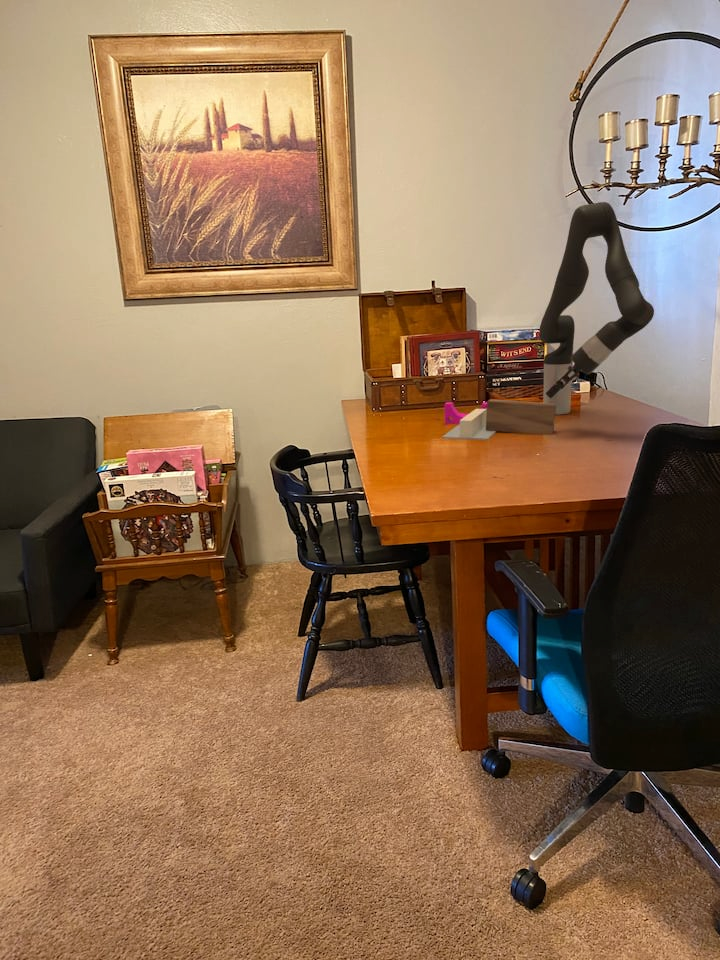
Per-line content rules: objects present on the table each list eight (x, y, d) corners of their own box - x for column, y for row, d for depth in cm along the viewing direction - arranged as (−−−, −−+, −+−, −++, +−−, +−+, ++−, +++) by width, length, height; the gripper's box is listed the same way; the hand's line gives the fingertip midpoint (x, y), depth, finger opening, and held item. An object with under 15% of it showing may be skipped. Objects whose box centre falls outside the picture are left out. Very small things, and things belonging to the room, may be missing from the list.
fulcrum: (461, 425, 229) (461, 407, 227) (503, 426, 223) (503, 408, 222) (442, 440, 210) (441, 420, 208) (487, 441, 204) (487, 421, 202)
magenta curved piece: (492, 423, 232) (492, 400, 230) (490, 426, 226) (490, 404, 224) (448, 422, 236) (448, 400, 234) (445, 426, 231) (444, 404, 229)
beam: (489, 427, 218) (490, 399, 216) (553, 432, 211) (556, 403, 208) (485, 430, 214) (487, 401, 212) (551, 436, 207) (553, 406, 204)
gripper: (585, 342, 205) (544, 381, 213) (579, 347, 192) (537, 388, 200) (603, 360, 204) (562, 398, 212) (599, 366, 192) (555, 406, 199)
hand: (550, 393), depth 206 cm, fingers open, 8 cm apart
